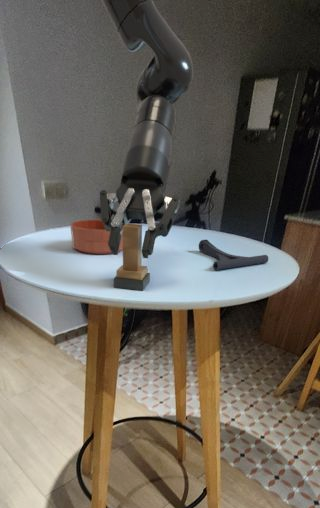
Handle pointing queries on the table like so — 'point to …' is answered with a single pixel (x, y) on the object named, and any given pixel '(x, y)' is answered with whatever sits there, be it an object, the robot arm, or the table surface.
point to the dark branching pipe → (229, 257)
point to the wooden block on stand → (132, 260)
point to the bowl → (91, 237)
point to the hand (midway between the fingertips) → (129, 253)
